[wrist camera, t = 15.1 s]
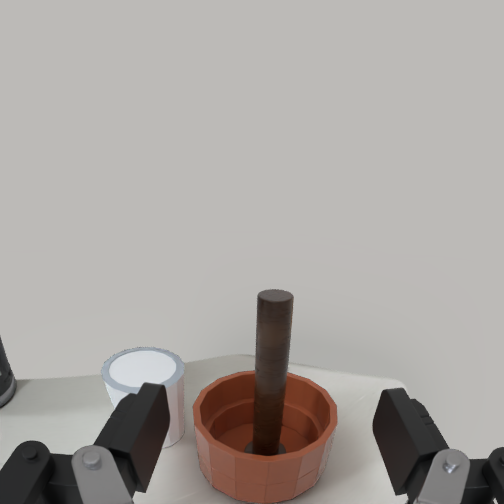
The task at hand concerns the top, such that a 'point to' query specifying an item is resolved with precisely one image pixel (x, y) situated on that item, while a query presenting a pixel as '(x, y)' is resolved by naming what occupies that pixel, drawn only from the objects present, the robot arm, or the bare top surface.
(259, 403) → the brown wooden pestle
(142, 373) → the white cylinder
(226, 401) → the bowl
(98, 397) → the top surface
